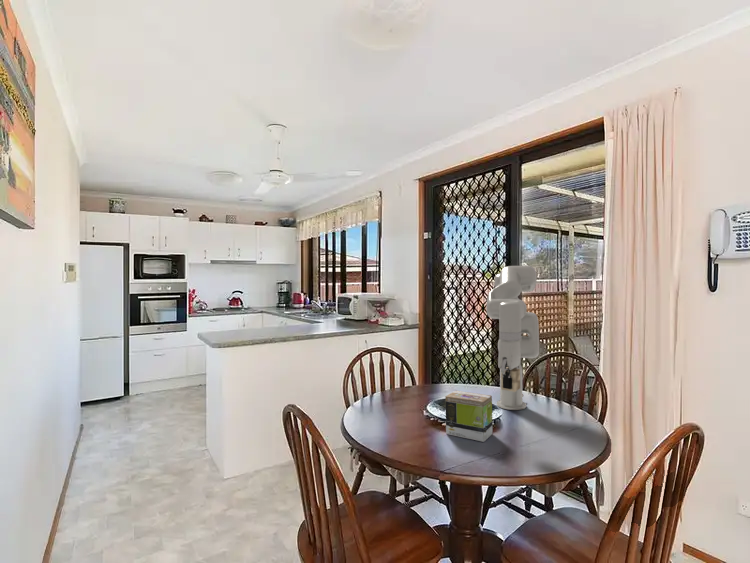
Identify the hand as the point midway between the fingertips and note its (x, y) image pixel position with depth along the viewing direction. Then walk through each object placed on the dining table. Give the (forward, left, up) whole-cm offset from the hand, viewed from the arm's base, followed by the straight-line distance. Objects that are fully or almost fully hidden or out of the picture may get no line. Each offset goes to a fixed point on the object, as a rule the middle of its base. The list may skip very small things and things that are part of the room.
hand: (510, 385), depth 152 cm
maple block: (0, 0, -1) cm, 1 cm away
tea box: (+4, -15, -20) cm, 25 cm away
